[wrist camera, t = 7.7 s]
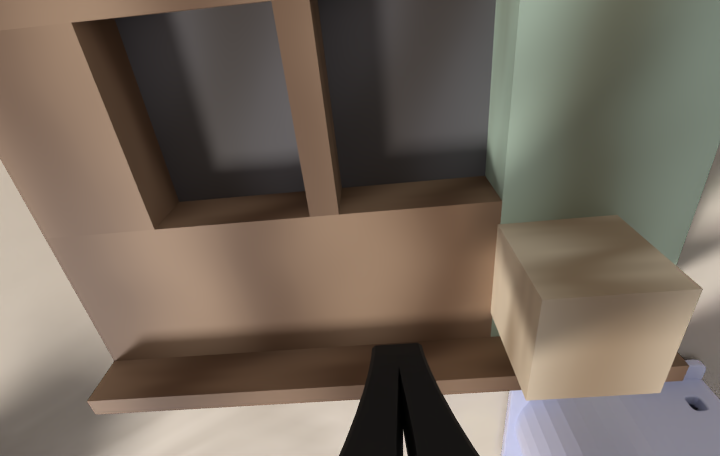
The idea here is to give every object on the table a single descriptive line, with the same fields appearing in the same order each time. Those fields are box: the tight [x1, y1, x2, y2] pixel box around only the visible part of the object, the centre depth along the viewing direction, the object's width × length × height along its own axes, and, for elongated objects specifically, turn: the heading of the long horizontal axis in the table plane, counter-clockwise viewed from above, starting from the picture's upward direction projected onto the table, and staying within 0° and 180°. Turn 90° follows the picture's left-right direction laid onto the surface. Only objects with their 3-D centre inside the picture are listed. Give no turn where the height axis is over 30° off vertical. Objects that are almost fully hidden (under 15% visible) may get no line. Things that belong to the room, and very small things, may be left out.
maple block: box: [491, 215, 703, 401], centre depth 13 cm, size 4×4×4 cm
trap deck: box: [0, 0, 720, 414], centre depth 14 cm, size 22×15×4 cm, turn 96°
